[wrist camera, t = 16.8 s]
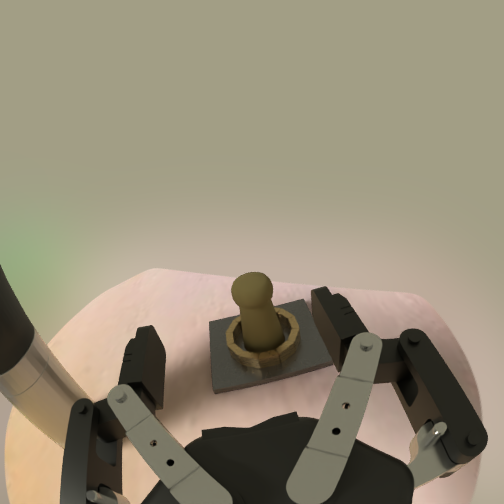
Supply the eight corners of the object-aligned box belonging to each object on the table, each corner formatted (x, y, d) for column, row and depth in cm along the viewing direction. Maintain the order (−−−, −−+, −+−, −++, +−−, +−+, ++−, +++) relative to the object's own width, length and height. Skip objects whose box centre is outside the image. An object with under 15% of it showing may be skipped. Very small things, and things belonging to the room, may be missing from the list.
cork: (258, 322, 44) (244, 262, 39) (292, 332, 40) (283, 270, 35) (235, 347, 40) (215, 287, 35) (270, 362, 36) (255, 299, 31)
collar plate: (215, 393, 34) (208, 381, 33) (210, 326, 46) (205, 312, 45) (333, 364, 35) (333, 350, 33) (304, 303, 47) (302, 289, 46)
